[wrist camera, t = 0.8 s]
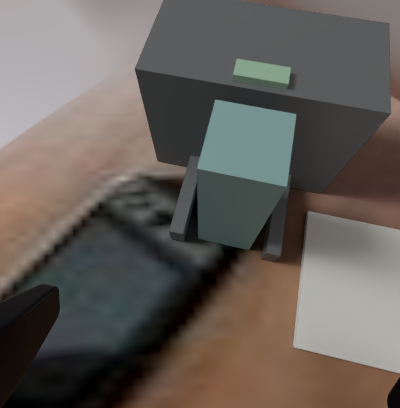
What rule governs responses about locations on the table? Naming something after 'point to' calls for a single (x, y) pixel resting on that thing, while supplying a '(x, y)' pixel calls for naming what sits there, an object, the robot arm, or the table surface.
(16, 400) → the table surface
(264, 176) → the key block
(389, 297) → the mat
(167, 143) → the charging dock
